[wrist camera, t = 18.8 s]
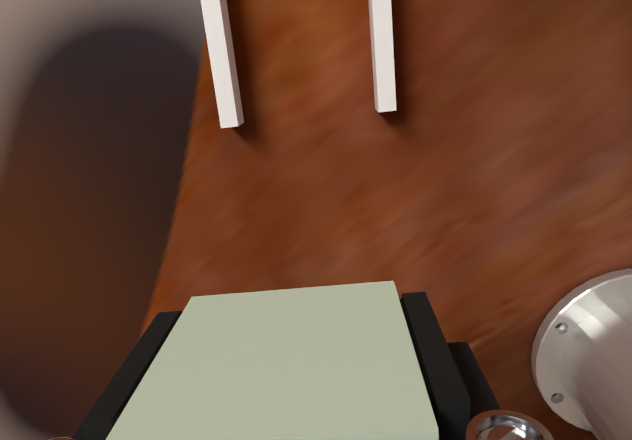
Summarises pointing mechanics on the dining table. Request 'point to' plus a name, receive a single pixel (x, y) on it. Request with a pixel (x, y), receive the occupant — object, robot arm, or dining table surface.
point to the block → (285, 370)
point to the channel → (227, 73)
